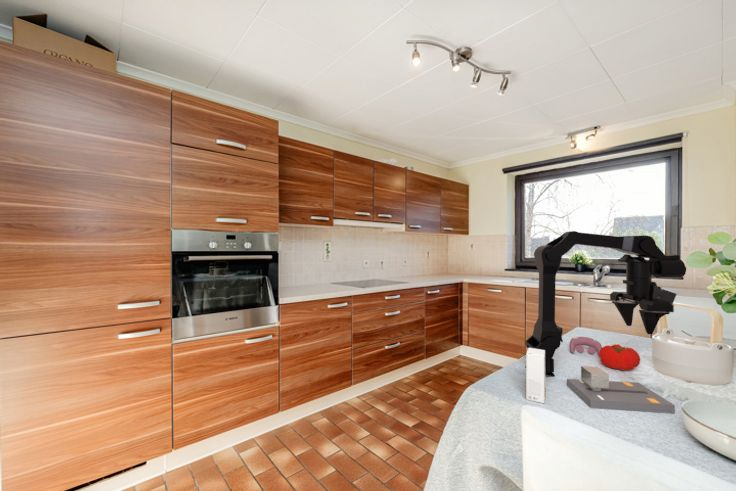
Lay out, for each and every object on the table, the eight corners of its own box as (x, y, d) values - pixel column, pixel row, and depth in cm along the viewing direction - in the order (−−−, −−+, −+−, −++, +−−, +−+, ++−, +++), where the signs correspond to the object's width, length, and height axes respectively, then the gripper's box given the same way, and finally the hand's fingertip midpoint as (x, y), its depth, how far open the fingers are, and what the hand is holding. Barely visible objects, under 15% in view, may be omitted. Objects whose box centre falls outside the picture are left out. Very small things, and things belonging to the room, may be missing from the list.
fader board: (590, 407, 75) (590, 399, 75) (567, 385, 87) (567, 378, 87) (674, 413, 73) (674, 404, 73) (638, 389, 84) (638, 382, 84)
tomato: (644, 368, 99) (644, 348, 99) (631, 376, 93) (631, 354, 93) (608, 359, 108) (607, 340, 108) (594, 366, 102) (593, 346, 102)
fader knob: (591, 393, 79) (591, 373, 79) (581, 384, 84) (581, 365, 84) (608, 394, 78) (608, 374, 78) (597, 385, 83) (597, 366, 83)
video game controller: (602, 359, 111) (601, 340, 113) (603, 357, 107) (602, 337, 110) (569, 354, 116) (569, 336, 119) (569, 352, 113) (569, 333, 115)
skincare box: (545, 404, 77) (544, 356, 77) (526, 399, 80) (525, 353, 80) (546, 394, 83) (545, 349, 83) (528, 390, 85) (527, 347, 85)
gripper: (697, 281, 81) (697, 340, 81) (648, 275, 100) (648, 323, 100) (648, 280, 83) (648, 338, 83) (609, 274, 102) (609, 321, 102)
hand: (638, 329), depth 92 cm, fingers open, 9 cm apart
